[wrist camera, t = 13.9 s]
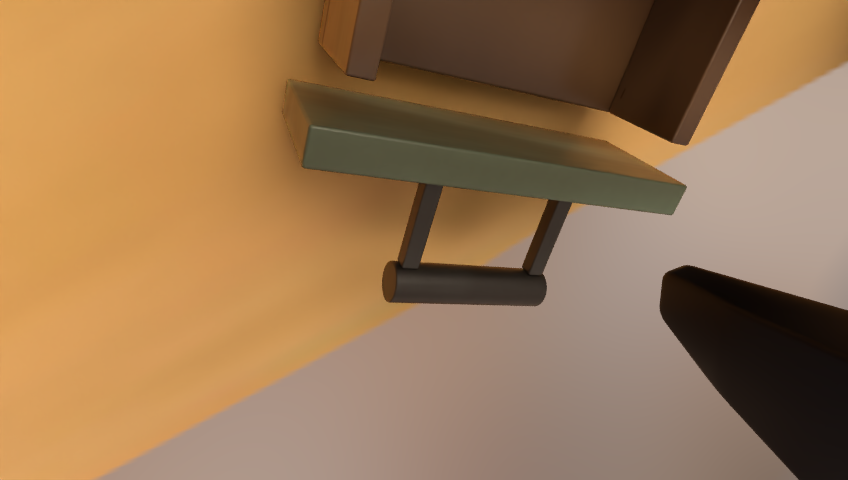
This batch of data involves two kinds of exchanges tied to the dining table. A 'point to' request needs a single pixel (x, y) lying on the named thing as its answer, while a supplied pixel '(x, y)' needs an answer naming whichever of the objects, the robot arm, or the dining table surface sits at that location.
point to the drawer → (505, 141)
